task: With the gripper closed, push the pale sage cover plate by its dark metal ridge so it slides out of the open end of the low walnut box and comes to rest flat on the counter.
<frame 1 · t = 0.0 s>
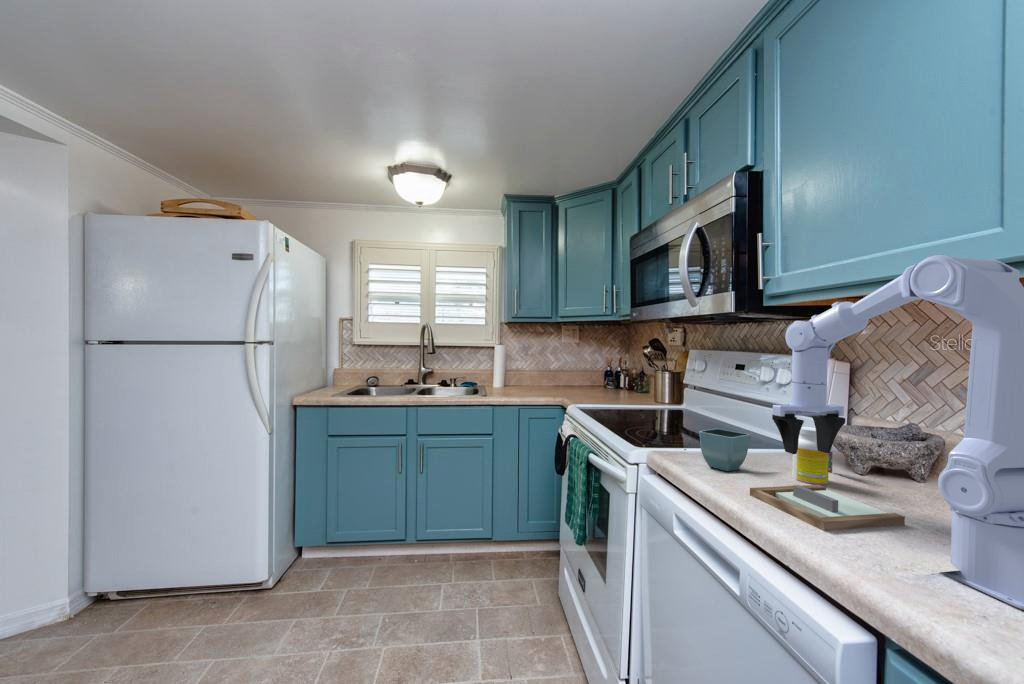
hand: (807, 452, 84), 10 cm above the worktop, tool pointing down, fingers open, 7 cm apart
supplement bottle: (809, 487, 95), on the worktop
cover plate: (830, 508, 78), point 1 cm above the worktop, touching wooden box
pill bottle: (818, 473, 106), on the worktop
wooden box: (820, 517, 77), on the worktop
flower pot: (723, 469, 107), on the worktop
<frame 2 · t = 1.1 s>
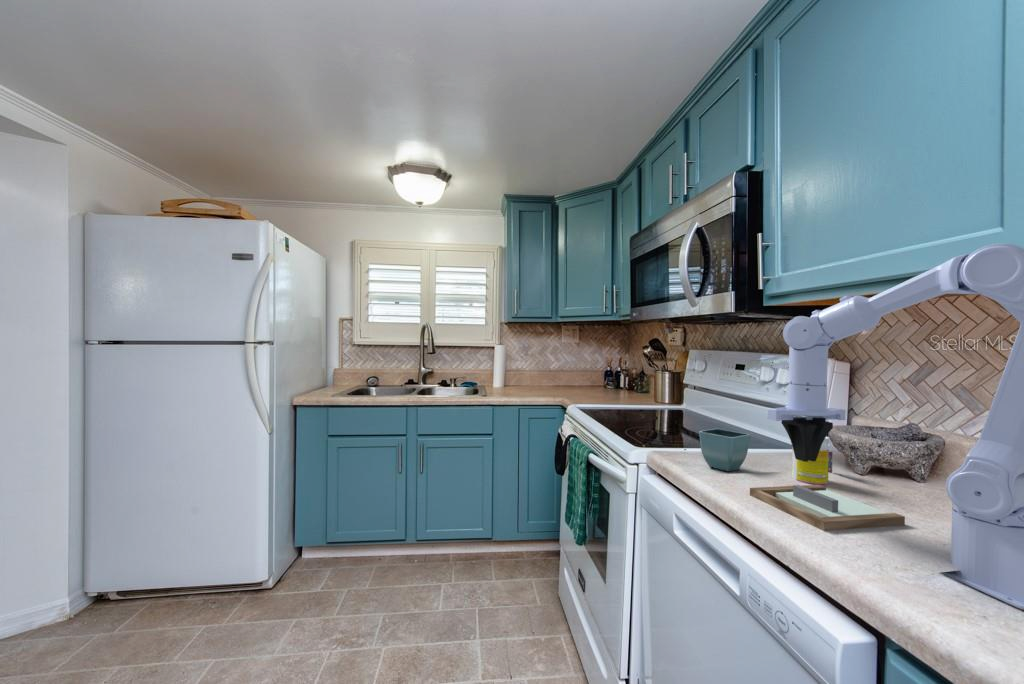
hand: (805, 460, 77), 10 cm above the worktop, tool pointing down, fingers closed
nothing on the worktop moved.
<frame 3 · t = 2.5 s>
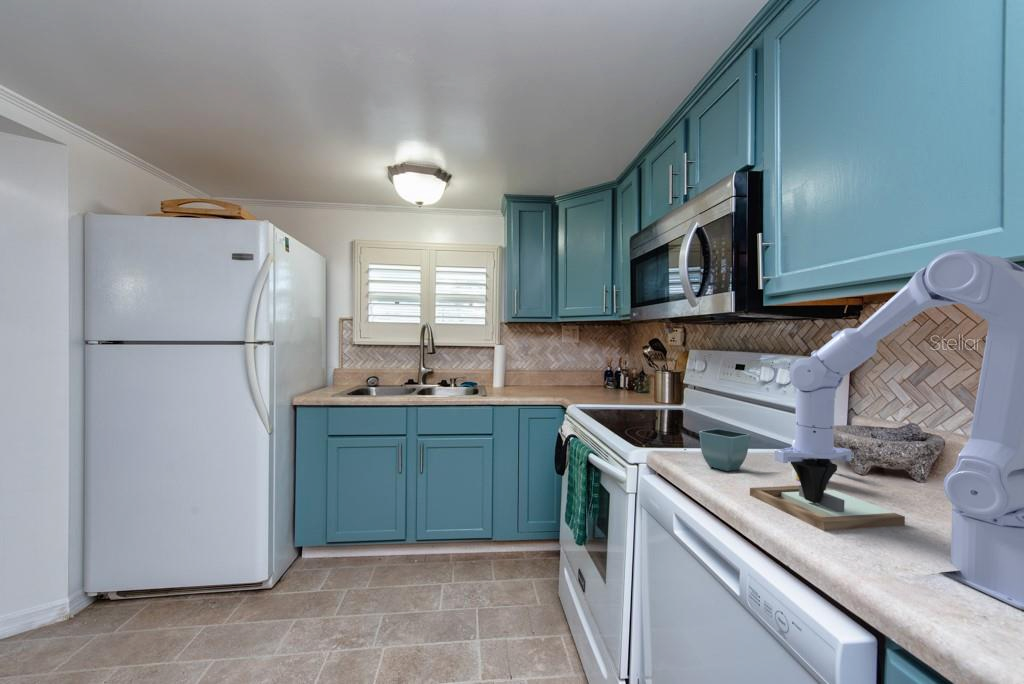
hand: (812, 500, 77), 3 cm above the worktop, tool pointing down, fingers closed
cover plate: (836, 507, 78), point 1 cm above the worktop, touching gripper, wooden box
everything else where it was.
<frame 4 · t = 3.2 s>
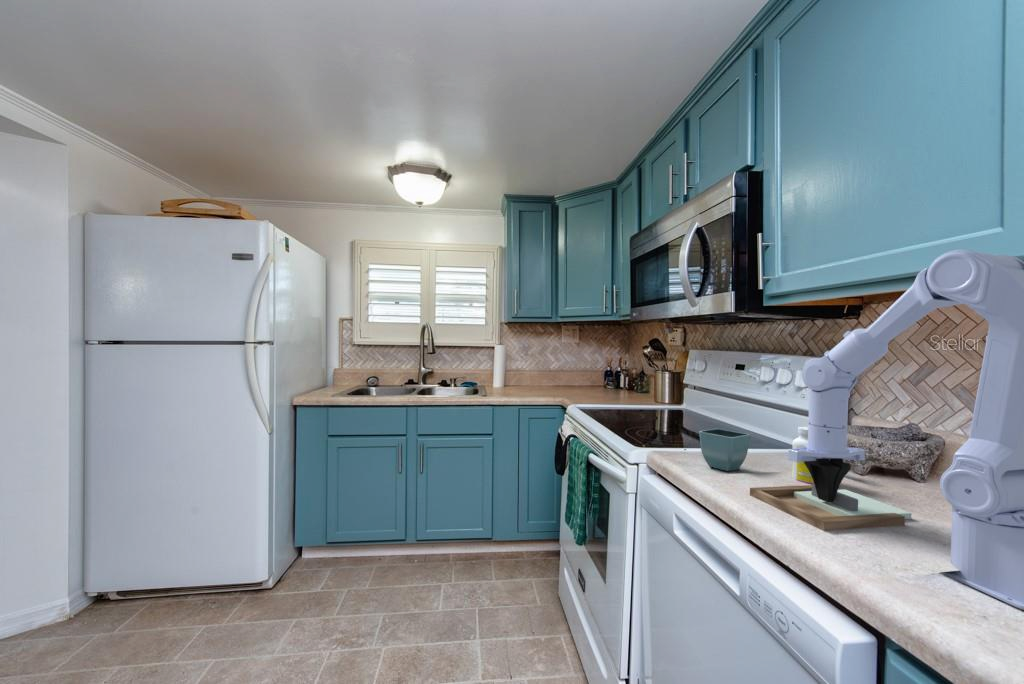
hand: (825, 500, 78), 3 cm above the worktop, tool pointing down, fingers closed
cover plate: (849, 507, 79), point 1 cm above the worktop, touching gripper, wooden box
everything else where it was.
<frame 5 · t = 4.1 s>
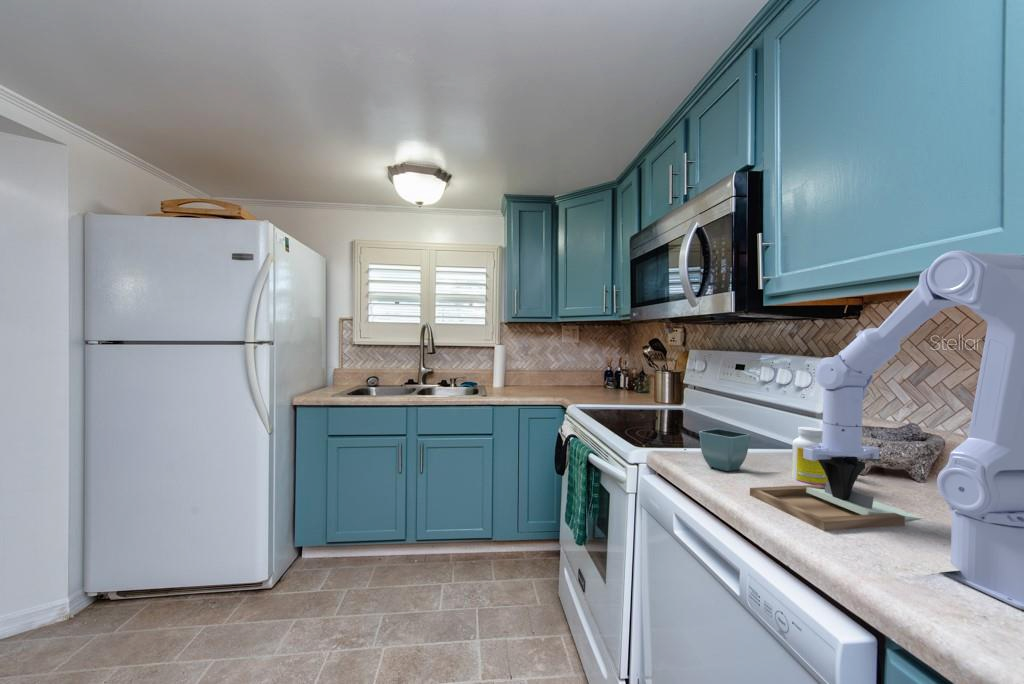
hand: (840, 498, 78), 3 cm above the worktop, tool pointing down, fingers closed
cover plate: (861, 507, 79), point 1 cm above the worktop, tilted 9°, touching gripper, wooden box
everything else where it was.
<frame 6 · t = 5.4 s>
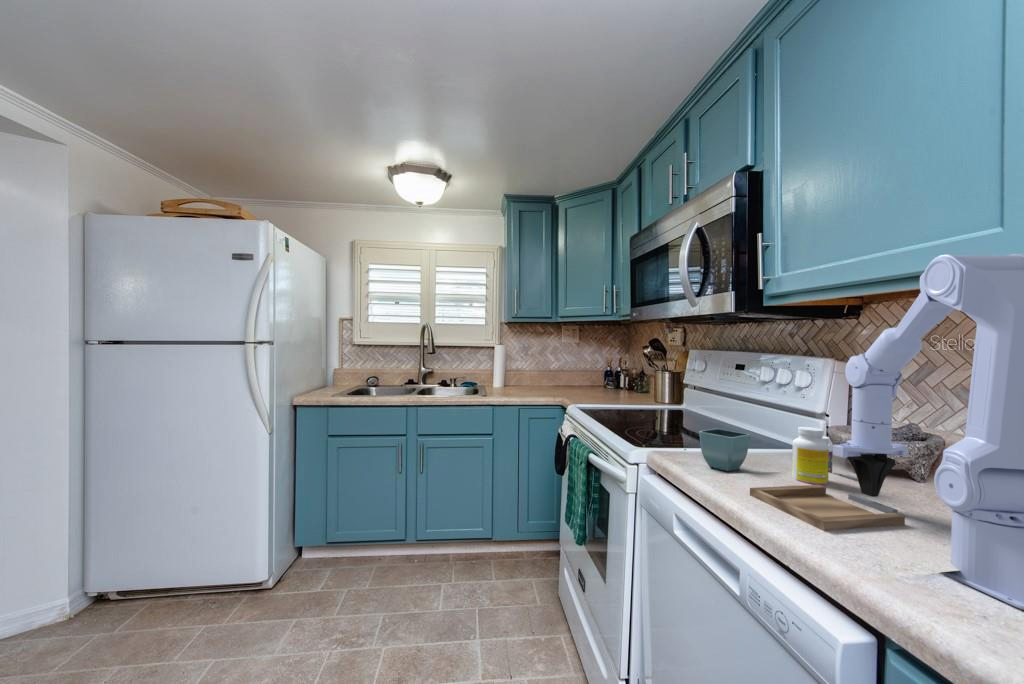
hand: (869, 494, 80), 4 cm above the worktop, tool pointing down, fingers closed
cover plate: (886, 516, 80), on the worktop
everything else where it was.
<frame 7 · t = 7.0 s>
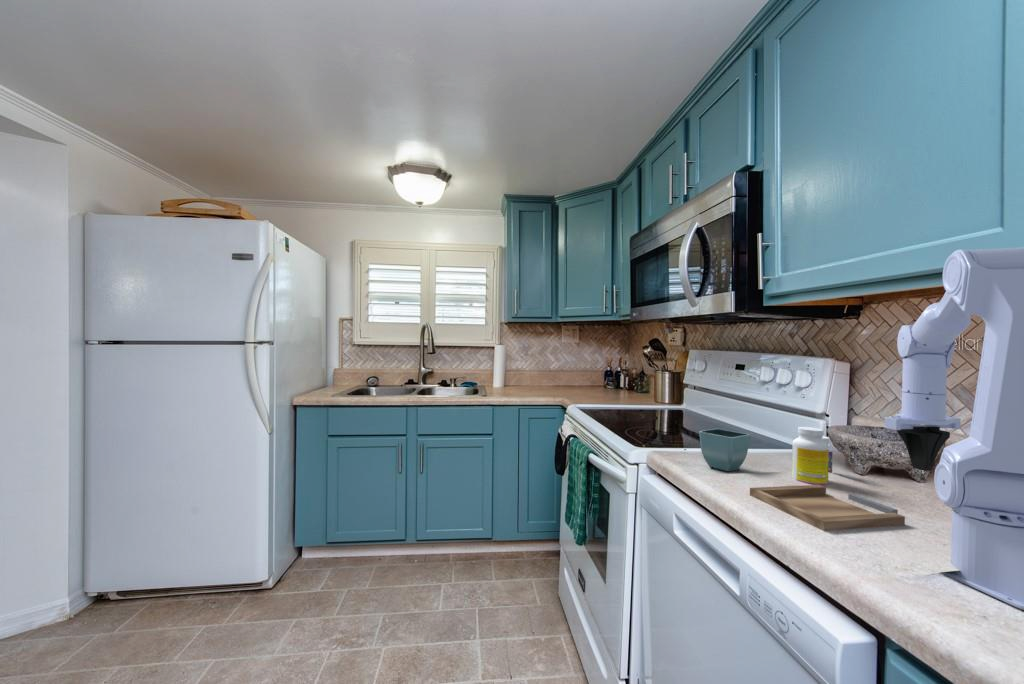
hand: (921, 469, 76), 9 cm above the worktop, tool pointing down, fingers closed
nothing on the worktop moved.
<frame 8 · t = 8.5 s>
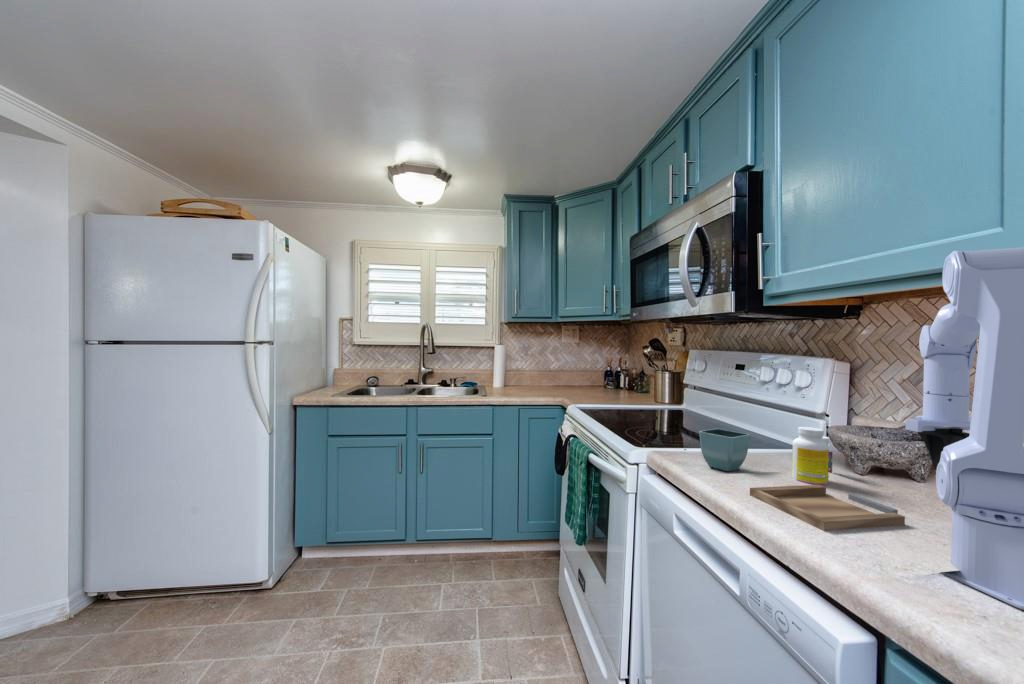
hand: (943, 471, 75), 9 cm above the worktop, tool pointing down, fingers closed
nothing on the worktop moved.
at the end: cover plate inside the target area (3.2 cm from its centre), on the worktop; cover plate tilted 0°; cover plate touching worktop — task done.
